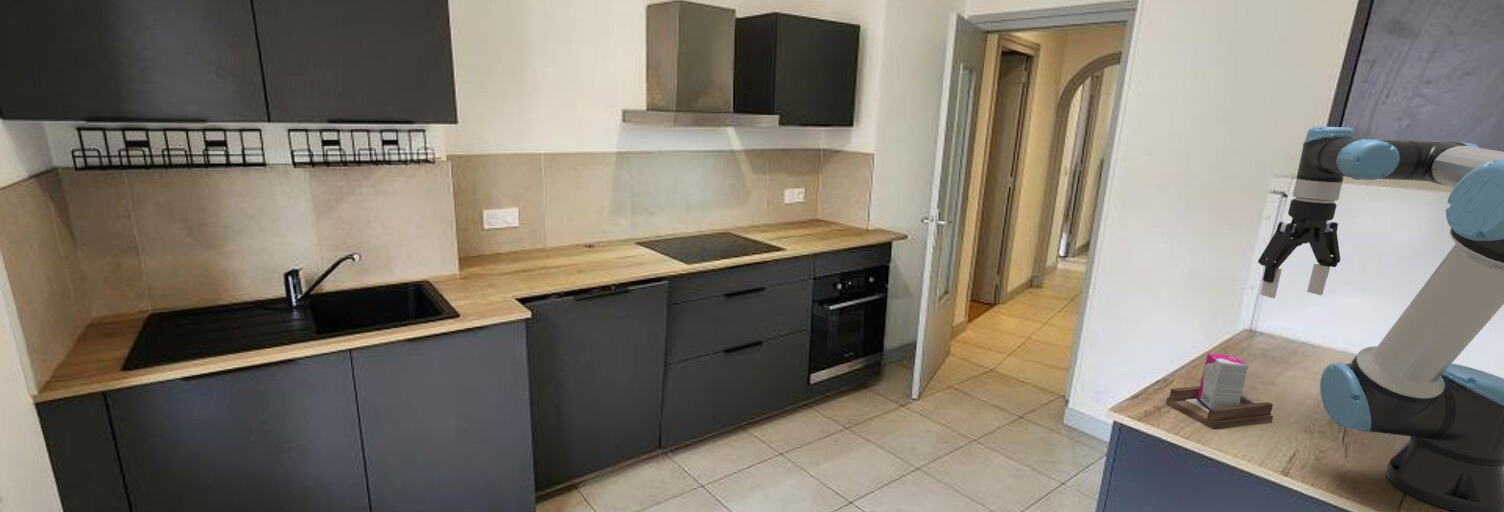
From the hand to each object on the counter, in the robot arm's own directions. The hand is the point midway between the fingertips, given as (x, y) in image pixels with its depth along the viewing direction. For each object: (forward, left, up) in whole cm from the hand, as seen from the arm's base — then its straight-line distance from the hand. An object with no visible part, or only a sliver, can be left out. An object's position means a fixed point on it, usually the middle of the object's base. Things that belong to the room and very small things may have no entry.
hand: (1291, 295), depth 142 cm
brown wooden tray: (-1, +15, -27) cm, 31 cm away
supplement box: (-1, +16, -25) cm, 30 cm away
